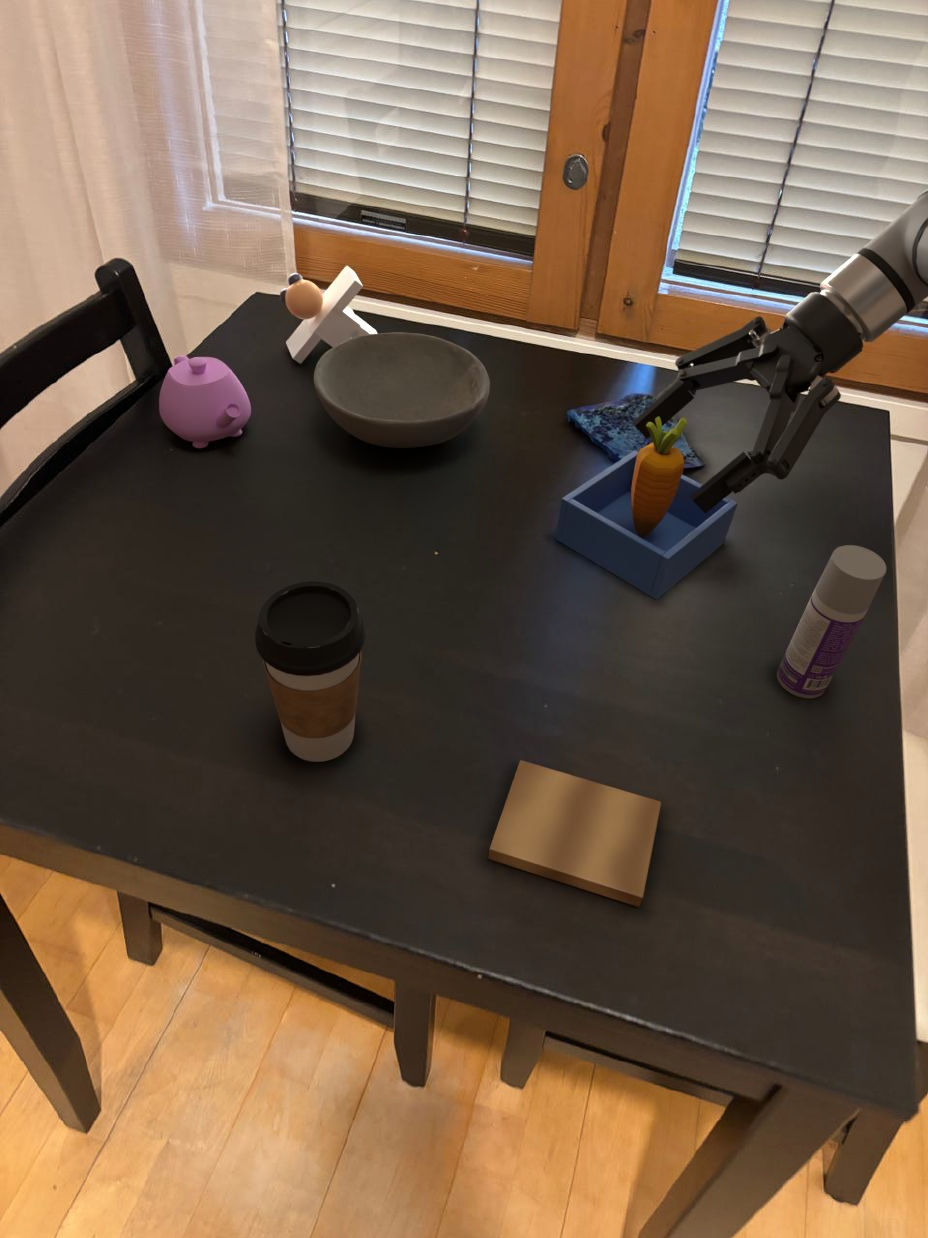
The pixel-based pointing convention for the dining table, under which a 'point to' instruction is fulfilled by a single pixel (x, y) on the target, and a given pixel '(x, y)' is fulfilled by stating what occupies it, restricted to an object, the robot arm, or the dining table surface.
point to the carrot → (656, 477)
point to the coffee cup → (313, 665)
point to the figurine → (323, 313)
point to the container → (830, 620)
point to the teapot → (203, 400)
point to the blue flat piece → (625, 427)
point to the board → (577, 832)
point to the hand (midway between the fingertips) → (666, 466)
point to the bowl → (401, 388)
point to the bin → (609, 537)
